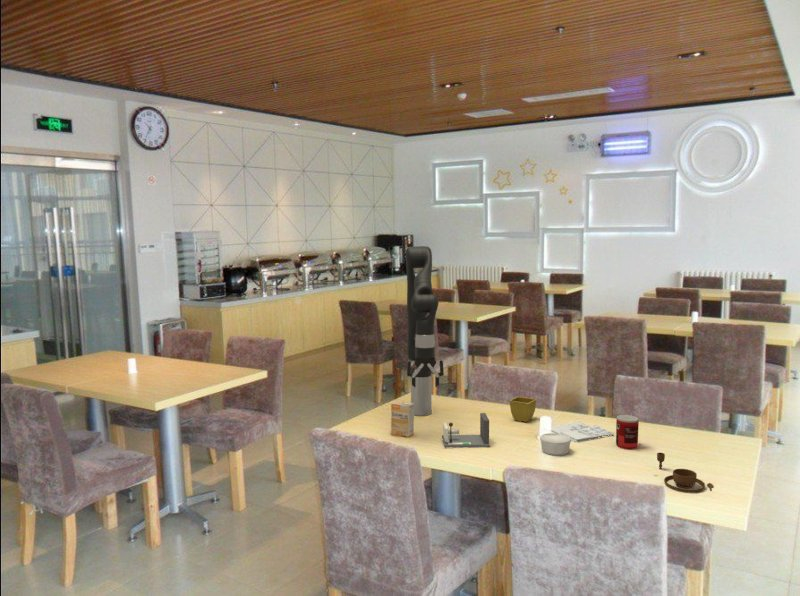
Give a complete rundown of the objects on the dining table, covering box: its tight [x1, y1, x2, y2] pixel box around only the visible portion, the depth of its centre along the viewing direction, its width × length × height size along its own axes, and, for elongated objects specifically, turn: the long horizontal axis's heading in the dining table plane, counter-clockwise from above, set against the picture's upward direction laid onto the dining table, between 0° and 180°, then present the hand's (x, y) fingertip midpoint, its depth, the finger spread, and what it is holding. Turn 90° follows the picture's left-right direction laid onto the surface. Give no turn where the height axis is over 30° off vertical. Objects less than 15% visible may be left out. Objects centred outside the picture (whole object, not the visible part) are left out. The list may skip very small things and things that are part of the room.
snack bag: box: [551, 421, 614, 443], centre depth 261 cm, size 19×20×2 cm
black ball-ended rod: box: [448, 421, 454, 443], centre depth 244 cm, size 2×2×8 cm
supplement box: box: [390, 400, 415, 438], centre depth 259 cm, size 8×5×13 cm, turn 62°
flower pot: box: [509, 396, 537, 423], centre depth 277 cm, size 9×9×9 cm
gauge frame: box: [441, 412, 491, 448], centre depth 249 cm, size 12×17×10 cm
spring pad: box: [442, 421, 460, 443], centre depth 249 cm, size 10×6×5 cm, turn 1°
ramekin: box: [539, 432, 572, 456], centre depth 239 cm, size 11×11×5 cm
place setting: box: [653, 452, 714, 494], centre depth 210 cm, size 18×20×6 cm
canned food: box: [615, 414, 640, 450], centre depth 243 cm, size 8×8×11 cm
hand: (425, 386), depth 253 cm, fingers open, 8 cm apart
